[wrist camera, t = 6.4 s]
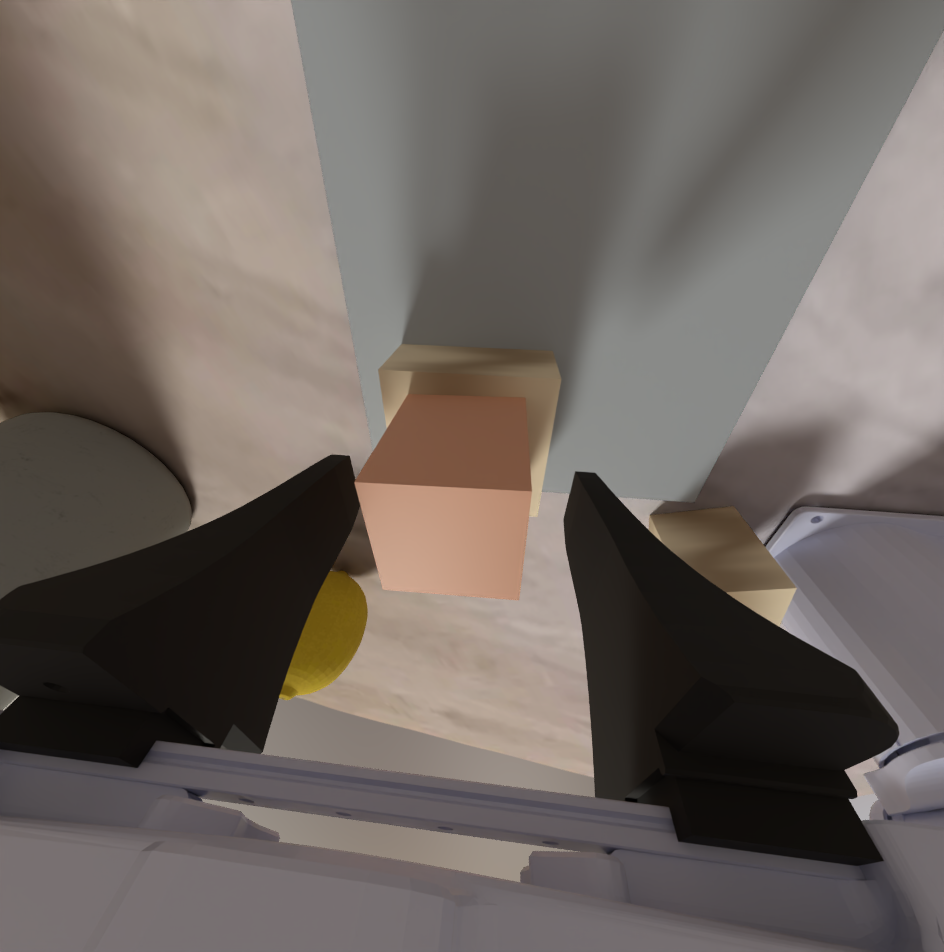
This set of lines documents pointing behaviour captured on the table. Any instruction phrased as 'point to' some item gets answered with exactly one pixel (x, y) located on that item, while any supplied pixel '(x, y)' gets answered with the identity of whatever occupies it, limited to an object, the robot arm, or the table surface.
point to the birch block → (727, 557)
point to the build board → (601, 194)
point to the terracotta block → (450, 496)
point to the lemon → (327, 636)
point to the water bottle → (78, 499)
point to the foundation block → (480, 387)
